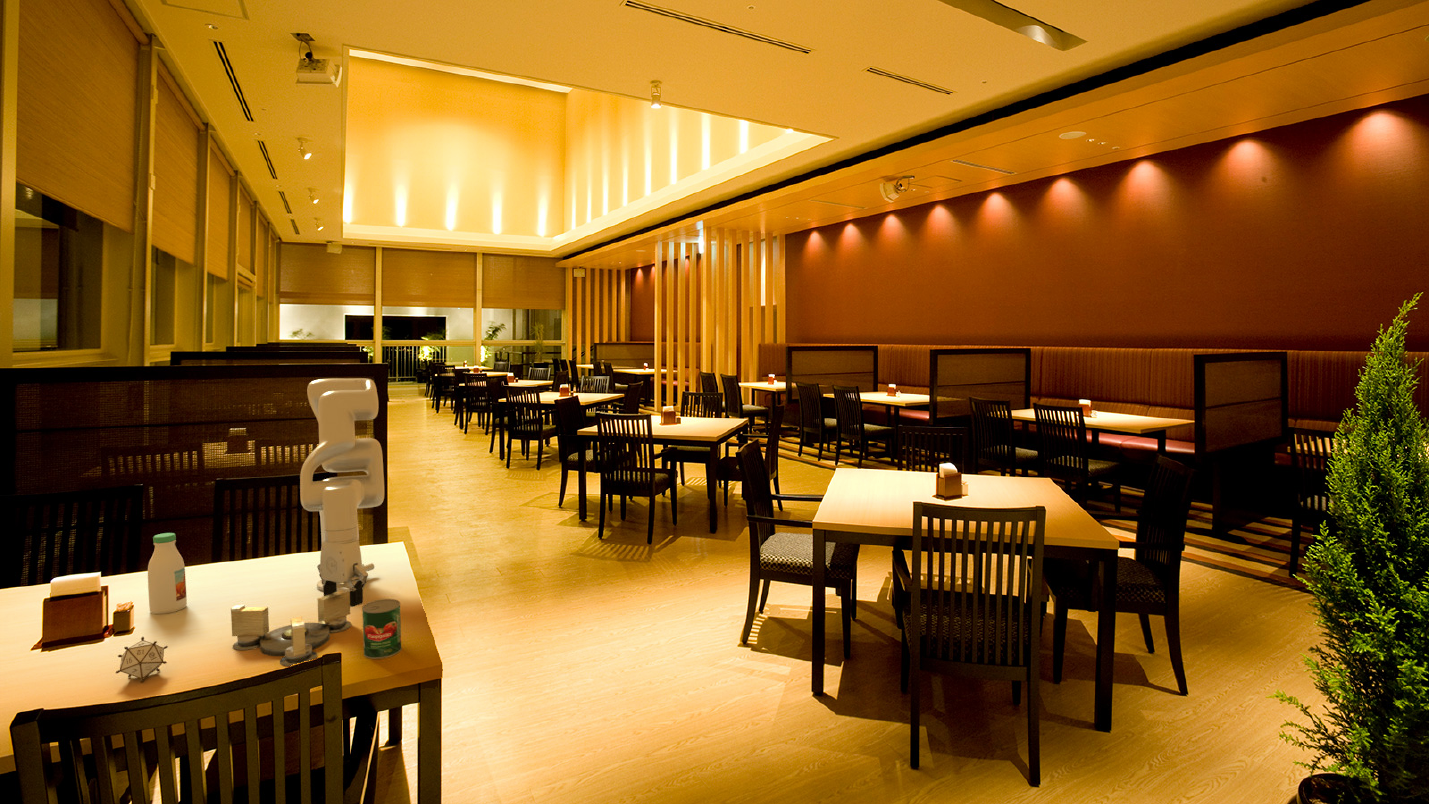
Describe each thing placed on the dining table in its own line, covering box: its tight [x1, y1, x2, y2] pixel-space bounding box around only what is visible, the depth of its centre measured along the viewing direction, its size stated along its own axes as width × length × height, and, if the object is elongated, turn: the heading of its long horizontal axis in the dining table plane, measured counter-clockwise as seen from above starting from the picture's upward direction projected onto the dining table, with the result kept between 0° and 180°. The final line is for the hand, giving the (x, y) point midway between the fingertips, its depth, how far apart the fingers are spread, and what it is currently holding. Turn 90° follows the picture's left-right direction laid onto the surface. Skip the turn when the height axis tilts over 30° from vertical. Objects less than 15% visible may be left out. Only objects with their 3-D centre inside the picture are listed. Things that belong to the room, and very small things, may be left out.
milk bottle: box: [147, 532, 188, 615], centre depth 182 cm, size 8×8×20 cm
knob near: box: [317, 587, 351, 629], centre depth 172 cm, size 7×5×8 cm
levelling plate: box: [232, 620, 352, 667], centre depth 166 cm, size 22×24×4 cm
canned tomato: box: [361, 598, 403, 660], centre depth 159 cm, size 8×8×11 cm
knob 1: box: [230, 604, 270, 646], centre depth 162 cm, size 7×5×8 cm
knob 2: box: [284, 616, 313, 662], centre depth 155 cm, size 7×5×8 cm
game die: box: [115, 636, 169, 683], centre depth 146 cm, size 9×8×10 cm
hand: (343, 602), depth 174 cm, fingers open, 9 cm apart
